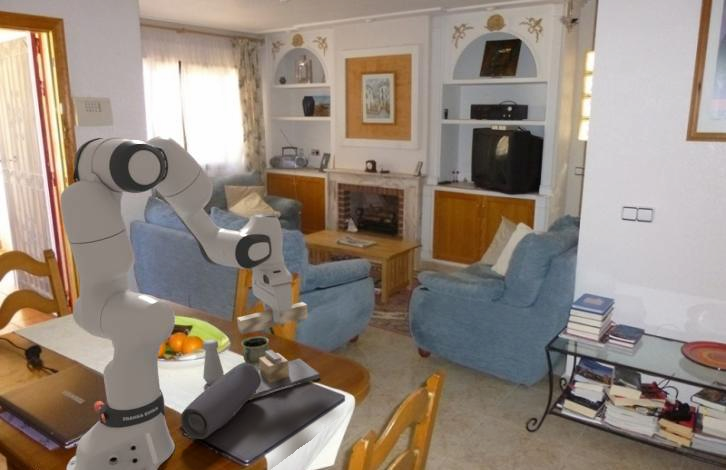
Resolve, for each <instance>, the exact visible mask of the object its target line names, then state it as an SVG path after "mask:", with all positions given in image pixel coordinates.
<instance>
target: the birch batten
mask: <svg viewBox="0 0 726 470" xmlns="http://www.w3.org/2000/svg"><path fill="white" fill-rule="evenodd" d="M308 313H309V311H308V304H307V303H305V302H303V301H301V302H296V303H292V308H291V310H290V311H286V312H282V313H280V320H279V321H276V322H275V321H273V320H272V314H273V310H272V309H271V310H267V311H265V310H263V311H260V312H254V313H251V314H247V315H243V316H242V315H241V316H239V317H236V320H237V321H236V322H237V330H238V333H240V335H246V334H250V333H254V332H258V331H262V330H265V329H271V328H274V327H277V326H282V325H286V324H289V323H292V322H296V321H297V322H298V321H300V320H304V319H308V318H309V314H308Z"/></svg>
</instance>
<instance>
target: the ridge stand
mask: <svg viewBox="0 0 726 470" xmlns="http://www.w3.org/2000/svg"><path fill="white" fill-rule="evenodd" d="M259 363H260V364H259V370H257V371H258V373H259V375H260V377H261V383H260V386H259V387H258V389H257V390H256V393H255V394H257V393H262V392H266V391H271V390H275V389H278V388H281V387H285V386H289V385H294V384H298V383H303V384H306V383H305V382H307V383H310V382H312V381H315V380H319V379H320V378H321V377H320V373H319V372H318V371H317V370H316V369H315V368H313V367H311V366H310V365H309V364H307V363H306V362H305V361H303V360H302V359H301V358H296V359H293V360H288V359H286V358H285V357H284V356H283V355H281V354H280V353H279V352H275V351H274V350H273V349H270V350H268V351H265V356H264V357H261V358H259Z"/></svg>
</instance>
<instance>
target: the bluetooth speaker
mask: <svg viewBox="0 0 726 470" xmlns="http://www.w3.org/2000/svg"><path fill="white" fill-rule="evenodd" d="M260 383H261V377H260V375H259V373H258V370H257V368H256V367H255V365H251V364H248V363H246V362H242V363H240V364H238V365H235V366H234V367H233V368H231V369H230V370H229V371H227V372H226V373H224V375H223V376H222V377H221V378H219V379H218V380H217V381H215V382H214V383H213V384H212V385H208V387H207V388H206V389H204V391H202V392H201V393H200V394H199V395H197V397H196V398H195V399H194V400H193V401H191V402H190V403H189V404H188V405H187V406H186V407H185V409H183V411H182V412H181V415H180V424H181V426H182V429H183V431H184V432H185V433H186V434H187V435H188V436H189V437H191V438H194V439H197V440H203V439H206V438H207V437H209V436H210V435H211V434H213V433H214V432H215V431H216V430H218V429H217V428H219V427H221V426H222V427H224V426H225V425H226V424H227V423H228V422H229V421H230V420H232V418H233V417H234V416H235V415H236V414H237V413H238V412H239V411H240V410H241V409H242V407H243V406H244V405H245V404H246V403H247V402H248V399H249V398H250V397H251V396H252V395H253V394H254V392H255V391H256V390H257V389H258V387H259V386H260ZM239 409H240V410H239ZM238 410H239V411H238ZM237 411H238V412H237ZM236 412H237V413H236ZM235 413H236V414H235ZM234 414H235V415H234ZM233 415H234V416H233ZM232 416H233V417H232ZM231 417H232V418H231ZM228 420H229V421H228ZM226 422H227V423H226ZM225 423H226V424H225ZM224 424H225V425H224ZM223 425H224V426H223ZM222 427H221V428H222ZM219 429H220V428H219Z"/></svg>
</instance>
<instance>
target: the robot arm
mask: <svg viewBox="0 0 726 470" xmlns="http://www.w3.org/2000/svg"><path fill="white" fill-rule="evenodd" d="M72 178H73V183H71V184H70V185H68V186H67V187H66V188H64V190H63V191H62V193H61V194H60V208H61V209H60V210H61V217H62V221H63V227H64V230H65V234H66V238H67V240H68V244H69V247H70V250H71V253H72V256H73V259H74V263H75V265H76V269H77V273H78V278H79V279H78V280H79V296H78V297H77V298H76V300H75V303H74V304H73V309H72V317H73V320H74V322H75V324H76V325H77V326H78V327H79V328H81V329H82V330H83V331H84V332H86V333H88V334H90V335H91V336H94V337H97V338H101V339H106V340H108V341H111V342H112V346H113V356H112V357H113V358H112V360H110V361H109V362H108V363H107V364H106V366H105V367H104V368H103V369H104V370H103V380H104V388H105V395H106V402H105V403H104V402H103V401H101V400H98V401H96V402H95V403H94V405H93V407H94V411H95V413H98V419H99V421H97V422H96V423H95V424H94V425H93V426H92V427H91V428H90V429H89V430H87V431H86V433H85V434H83V435H82V436H81V438H79V441H78V442H77V447H76V451H75V455H74V456H73V457H72V458H70V460H69V461H68V463H67V465H66V469H65V470H158V469H159V467H161V466H160V465H162V464H163V463H164V462H165V461H167V460H168V459H169V458H170V457H171V455H172V454H173V453H174V450H175V443H174V442H175V441H174V440H173V438H172V437H171V434H170V431H169V428H168V425H167V421H166V417H165V415H166V411H165V410H166V406H165V405H166V404H165V397H164V394H163V391H162V389H161V385H160V377H159V366H158V365H159V364H158V363H159V361H158V360H159V353H160V351H161V350H160V349H161V347H162V344H164V343H165V342H166V341H167V340H168V339H169V338H170V336H171V335H172V334H173V330H174V327H175V324H176V323H175V322H176V316H175V312H174V309H173V308H172V306H171V305H170V304H169V303H167V302H166V301H164V300H162V299H160V298H157V297H156V296H154V295H150V294H145V293H140V292H134V291H132V289H131V288H130V285H129V282H128V281H129V279H128V274H129V272H130V271H131V270H132V268H133V267H134V265H135V262H136V257H135V253H134V251H133V246H132V244H131V243H132V242H131V239H130V236H129V233H128V230H127V225H126V222H125V220H124V217H123V213H122V206H121V205H122V204H121V203H122V196H123V194H124V193H129V194H130V193H131V194H139V193H144V192H147V191H150V190H152V189H153V188H155V190H156V191H157V192H158V193H159V194H160V195H161V196H162V197H163V198H164V200H165V201H166V202H167V203H168V204H169V205H170V207H171V209H172V210H173V212H174V213H175V216H177V218H178V219H179V220H180V222H181V223H182V224H183V226H184V227H185V228H186V230H188V232H189V233H190V235H192V237H193V238H194V240H195V241H196V242H197V245H198V247H199V251H200V253H201V255H202V257H203V259H204V260H205V261H206V262H207V263H208V264H210V265H213V266H214V265H215V266H225V267H231V268H238V269H244V270H247V269H248V270H249V269H252V275H251V288H252V294H253V296H254V297H256V298H257V299H259V300H260V301H262V305H263V308H264V311H267V310H271V309H272V310H273V314H272V320H273V321H275V322H276V321H279V320H280V313H282V312H286V311H290V310H291V308H292V304H293V292H292V291H293V289H292V285H291V283H292V282H293V275H292V274H291V272H290V271H289V270H288V268H287V266H286V264H285V257H284V254H283V246H284V240H283V231H282V226H281V225H282V224H281V222H280V220H279V218H278V217H277V216H276V215H274V214H261V213H255V214H252V215H250V217H249V221H248V222H247V223H246V224H245V225H244V226H243V227H242V228H241V229H238V230H235V229H234V230H231V229H227V228H223V227H220V226H218V225H216V224H215V223H214V222H213V220H212V219H211V218H210V216H209V214H208V213H207V212H206V210H205V209H204V208H205V207H206V206H207V205H208V203H209V202H210V200H211V198H212V195H213V192H214V191H213V190H214V185H213V182H212V180H211V177H209V175H208V174H207V172H206V171H205V170H204V169H203V167H202V166H201V165H200V163H198V161H197V160H196V159H195V158H194V157H193V156H192V155H191V153H189V152H188V151H187V150H186V149H185V148H184V147H183V146H182V145H180V144H179V143H178V142H177V141H176V140H175V139H173V138H172V137H169V136H167V135H160V136H159V135H158V136H155V137H152V138H150V139H149V140H147V141H146V142H145V141H142V140H138V139H137V140H136V139H128V138H122V137H104V138H103V137H98V138H92V139H90V140H87V141H86V142H84V143H83V144H82V145H81V146H80V147H79V148H78V149H77V152H76V153H75V158H74V171H73V175H72Z"/></svg>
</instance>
